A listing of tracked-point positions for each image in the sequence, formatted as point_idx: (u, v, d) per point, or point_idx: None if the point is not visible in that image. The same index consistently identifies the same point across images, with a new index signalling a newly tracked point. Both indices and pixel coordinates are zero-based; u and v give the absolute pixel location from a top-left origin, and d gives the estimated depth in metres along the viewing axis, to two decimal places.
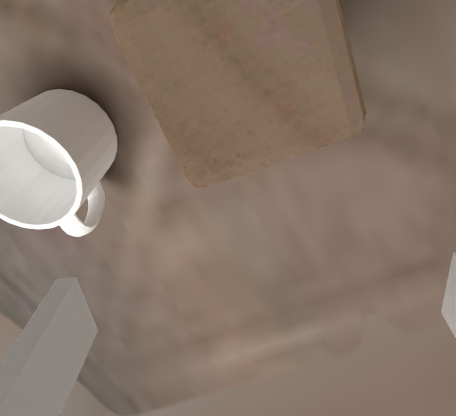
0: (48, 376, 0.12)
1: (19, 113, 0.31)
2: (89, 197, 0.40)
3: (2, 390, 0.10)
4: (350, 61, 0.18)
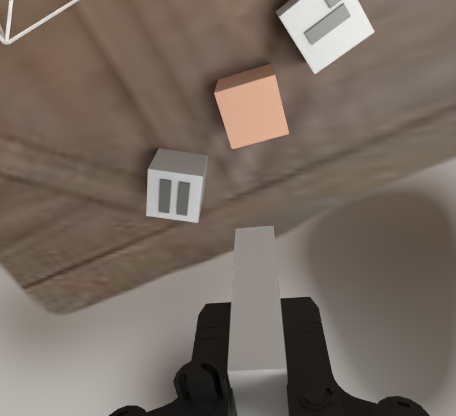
0: None
1: None
2: None
3: (249, 310, 0.11)
4: None
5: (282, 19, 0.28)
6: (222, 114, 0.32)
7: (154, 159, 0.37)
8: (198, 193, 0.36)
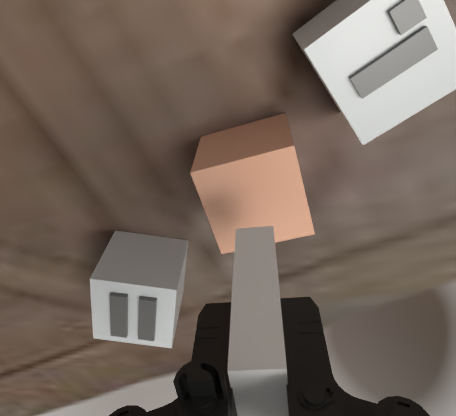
0: None
1: None
2: None
3: (249, 310, 0.11)
4: None
5: (310, 54, 0.16)
6: (205, 204, 0.19)
7: (104, 255, 0.24)
8: (169, 311, 0.23)
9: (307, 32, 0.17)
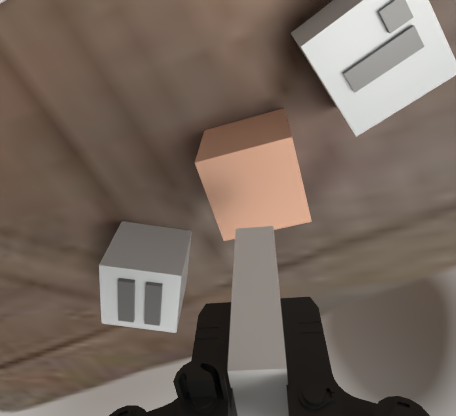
0: None
1: None
2: None
3: (249, 310, 0.11)
4: None
5: (306, 51, 0.17)
6: (208, 193, 0.21)
7: (112, 244, 0.25)
8: (174, 297, 0.24)
9: (304, 31, 0.19)
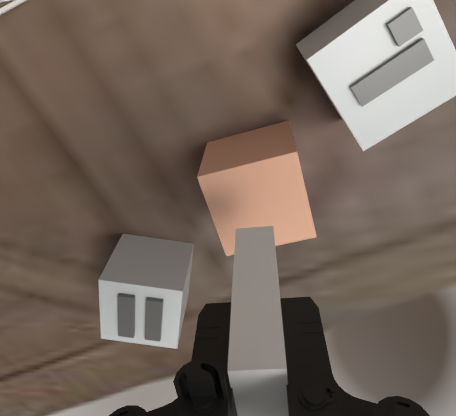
0: None
1: None
2: None
3: (249, 310, 0.11)
4: None
5: (312, 64, 0.16)
6: (210, 207, 0.20)
7: (112, 257, 0.25)
8: (175, 312, 0.24)
9: (310, 43, 0.18)
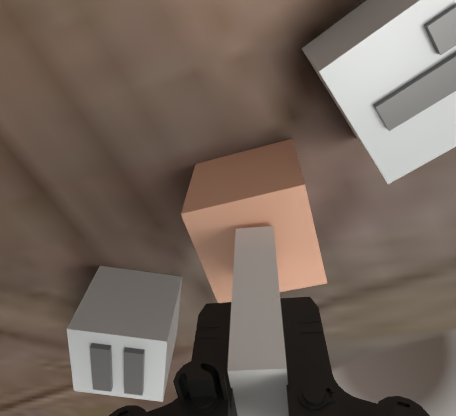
0: None
1: None
2: None
3: (249, 310, 0.11)
4: None
5: (326, 77, 0.13)
6: (198, 249, 0.16)
7: (85, 298, 0.21)
8: (159, 364, 0.20)
9: (321, 48, 0.15)
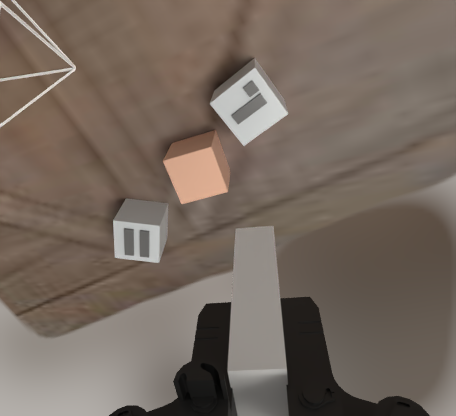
0: None
1: None
2: None
3: (249, 310, 0.11)
4: None
5: (212, 105, 0.35)
6: (171, 177, 0.38)
7: (120, 210, 0.43)
8: (156, 239, 0.42)
9: (216, 92, 0.37)
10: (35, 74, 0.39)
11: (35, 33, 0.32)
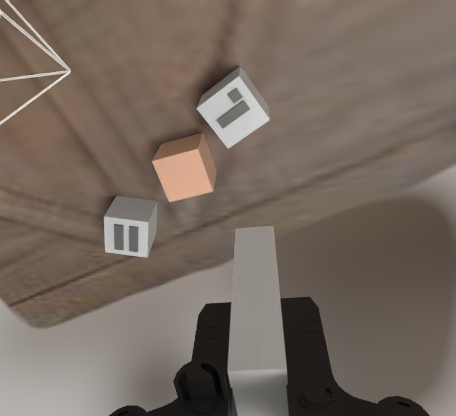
0: None
1: None
2: None
3: (249, 310, 0.11)
4: None
5: (199, 110, 0.37)
6: (159, 176, 0.41)
7: (111, 206, 0.45)
8: (145, 235, 0.45)
9: (203, 97, 0.39)
10: (31, 76, 0.41)
11: (32, 39, 0.34)
